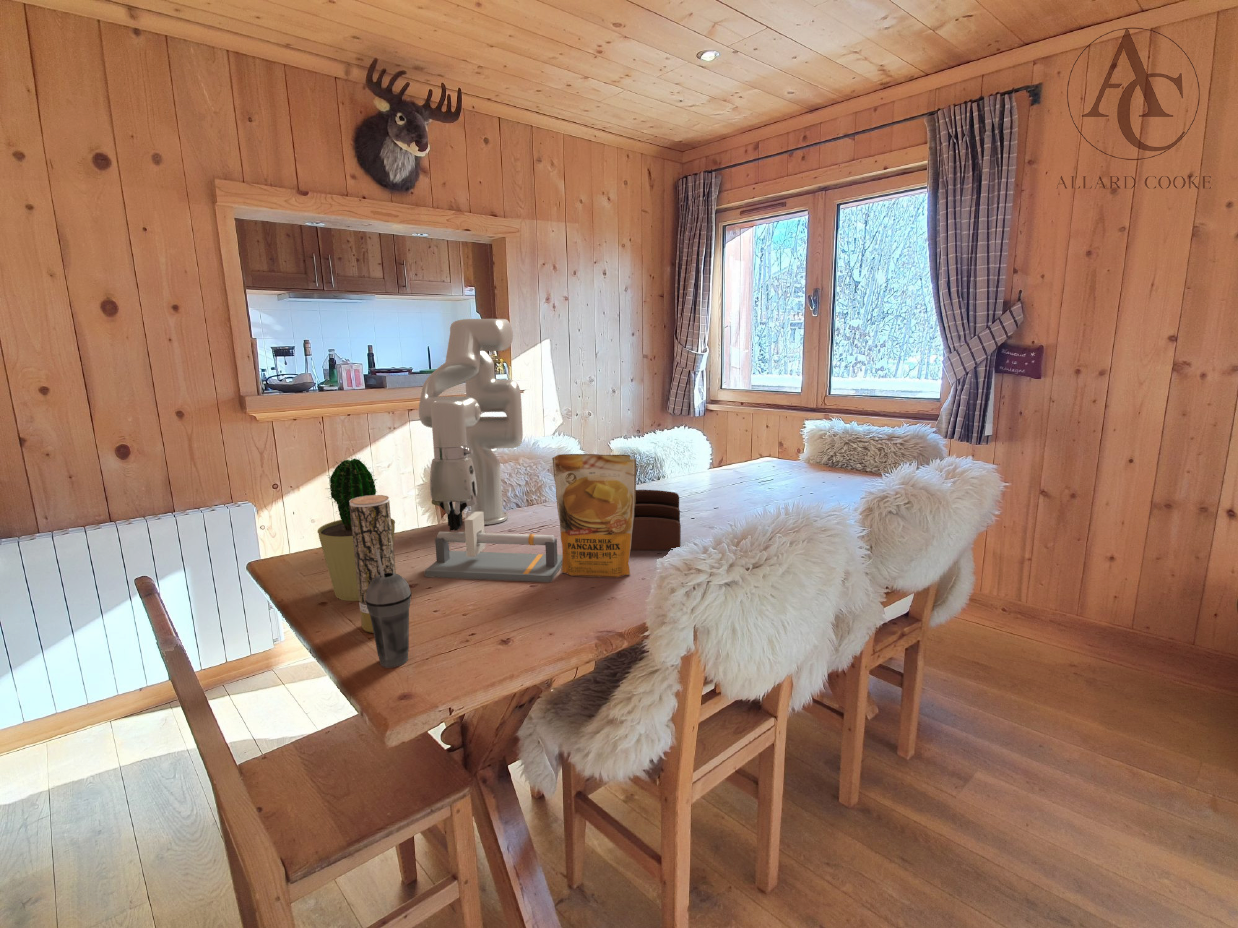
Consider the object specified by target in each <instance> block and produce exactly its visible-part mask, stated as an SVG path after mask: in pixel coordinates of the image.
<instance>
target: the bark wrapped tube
mask: <svg viewBox="0 0 1238 928" xmlns="http://www.w3.org/2000/svg"><path fill="white" fill-rule="evenodd" d="M389 498H390V497H389V496H388V495H382V494H376V495H369V496H362V497H357V498H354V499H351V500H350V501H349V502H350V504H349V505H350V515H351V525H352V535H353V545H354V555H355V565H356V575H357V585H358V595H359V601H358V602H359V603H358V604H359V612H360V619H361V627H362V629H363V630H364V632H366V633H373V634H374V632H373V627H372V622H371V617H370V613H369V611H368V608H367V604H366V603H365V600H366V592H367V588H368V586H369V584H370V583H371V581H372V580H373V579H374V578H375V577H377V576H378V575H381V574H380V569H379V564H378V560H377V555H376V550H379V554H380V559H381V563H382V568H383V572H384V573H395V574H397V573H396V563H395V562H396V561H395V549H394V545H393V537H392V526H391V519H392V517H391V507H390V499H389Z"/></svg>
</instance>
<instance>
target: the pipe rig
mask: <svg viewBox="0 0 1238 928" xmlns="http://www.w3.org/2000/svg"><path fill="white" fill-rule="evenodd" d="M450 543H463V544H464V543H465V544H466V537H465V531H464V532H462V531H459V532H458V531H439V532H438V533H437V537H435V538H434V544H435V556H436V557H435V558H436V559H435V560H436V561H435V562H433V563H432V564H431V565H429V567H427V568H426V569H425V570H424V577H425V578H441V579H442V578H444V579H445V578H446V579H465V580H466V579H467V580H468V579H469V580H490V581H492V580H493V581H511V582H512V581H515V582H534V583H535V582H539V583H552V582H553V580H554V579H555V577H556V576H557V574H558V572H559V571H560V570H561V567H562V554H558V539H557V538H555V535H553V534H535V533H532V534H531V533H529V534H526V533H524V534H521V533H520V534H519V533H491V532H485V533H477V543H485V544H491V545H493V544H497V545H498V544H499V545H526V546H545V553H528V552H527V553H525V552H523V553H522V552H499V551H498V552H491V551H481V552H480V553H479V554H478V555H477V556H475V557H467V553H466V551H465V550H464V551H463V550H450V545H449V544H450Z"/></svg>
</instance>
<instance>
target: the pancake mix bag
mask: <svg viewBox="0 0 1238 928" xmlns="http://www.w3.org/2000/svg"><path fill="white" fill-rule="evenodd" d="M551 459H552V468H553V480H554V485H555V486H554V487H555V498H556V499H555V501H556V507H557V515H558V519H559V529H560V531H559V532H560V541H561V549H562V554H561V555H562V566H561V568H560V573H562V574H564V573H565V574H567V575H568V576H570V577H582V578H583V577H584V578H607V579H608V578H609V579H610V578H611V579H614V578H615V579H616V578H617V579H619V578H620V579H621V578H622V577H624V576H628V575H629V576H630V575H631V569H630V565H629V561H630V556H631V555H630V554H631V550H630V549H631V539H632V529H633V520H634V508H635V502H636V490H637V488H636V487H637V473H638V472H637V471H638V469H637V468H638V467H637V461H636V458H631V455H629V454H597V453H564V454H557V455H555V456H553V457H552V458H551Z"/></svg>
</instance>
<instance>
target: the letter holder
mask: <svg viewBox="0 0 1238 928" xmlns="http://www.w3.org/2000/svg"><path fill="white" fill-rule="evenodd" d="M681 525H682V524H681V511H680V495H679V493H677V492H673V491H667V490H657V489H636V502H635V508H634V520H633V529H632V539H631V549H630V551H670V550H669V549H671V548H676V547H680V546H681V544H682V543H681V535H682V534H681V531H682V530H681V527H682V526H681Z"/></svg>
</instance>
